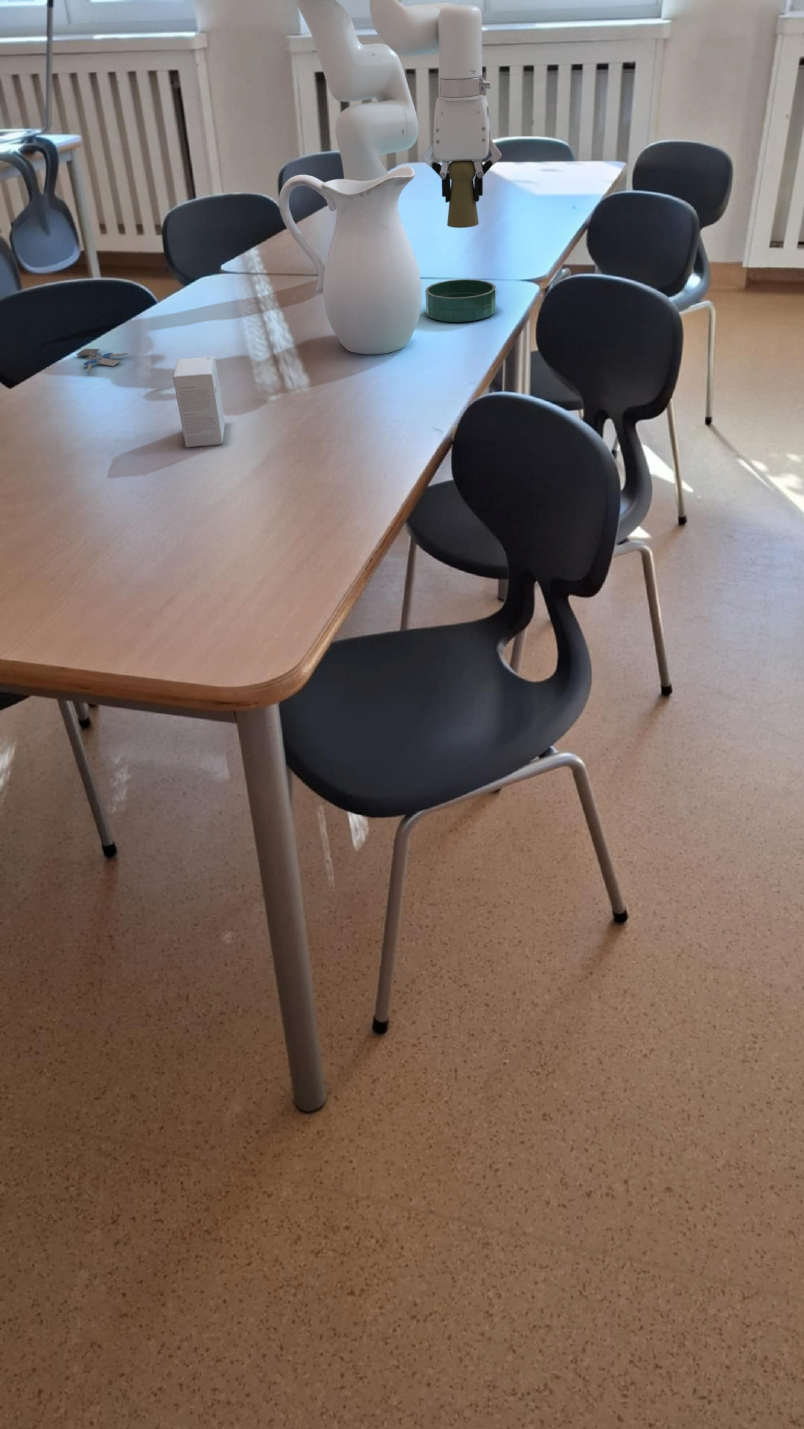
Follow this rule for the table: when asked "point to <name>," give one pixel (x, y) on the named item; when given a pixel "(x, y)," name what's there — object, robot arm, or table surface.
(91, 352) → the key chain
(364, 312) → the pitcher
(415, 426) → the table surface
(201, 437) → the small box
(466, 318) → the bowl
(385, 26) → the robot arm
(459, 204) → the cork
